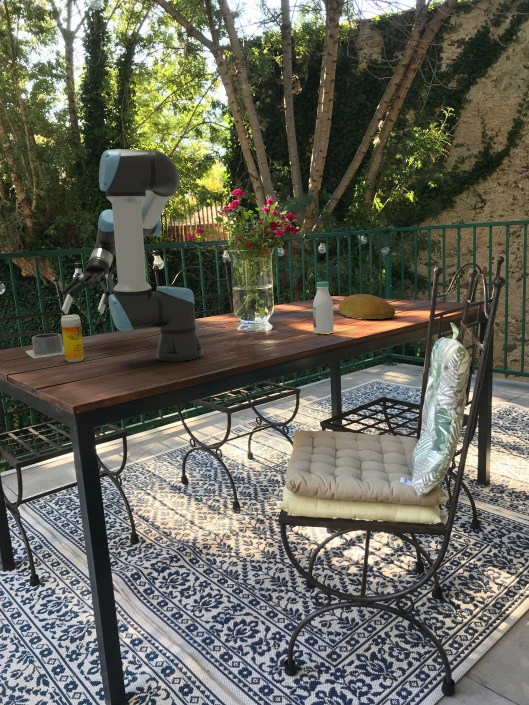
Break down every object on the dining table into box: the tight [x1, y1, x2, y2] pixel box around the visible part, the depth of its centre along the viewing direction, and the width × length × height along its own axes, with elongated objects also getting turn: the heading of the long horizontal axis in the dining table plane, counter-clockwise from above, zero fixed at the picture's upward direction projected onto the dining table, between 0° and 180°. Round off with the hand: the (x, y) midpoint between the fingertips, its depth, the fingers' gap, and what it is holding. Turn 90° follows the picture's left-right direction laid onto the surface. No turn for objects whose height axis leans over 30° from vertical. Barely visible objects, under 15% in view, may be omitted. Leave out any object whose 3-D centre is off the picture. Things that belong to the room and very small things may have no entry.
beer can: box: [60, 314, 85, 363], centre depth 192 cm, size 6×6×15 cm
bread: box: [338, 293, 396, 320], centre depth 264 cm, size 18×35×10 cm, turn 24°
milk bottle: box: [312, 281, 334, 334], centre depth 222 cm, size 8×8×20 cm
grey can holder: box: [25, 332, 65, 360], centre depth 207 cm, size 13×13×6 cm
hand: (82, 311), depth 198 cm, fingers open, 13 cm apart
